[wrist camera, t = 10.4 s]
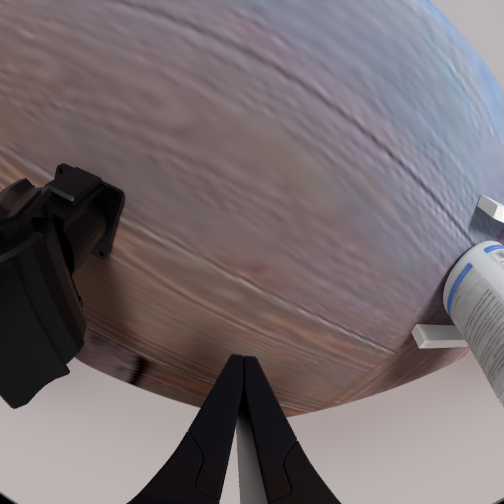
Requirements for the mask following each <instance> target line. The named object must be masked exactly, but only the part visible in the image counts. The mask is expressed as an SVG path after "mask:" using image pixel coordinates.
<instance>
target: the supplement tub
mask: <svg viewBox="0 0 504 504" xmlns="http://www.w3.org/2000/svg"><path fill="white" fill-rule="evenodd" d="M443 303H444V307H445V309H446V311H447V313H448V314H449V316H450V318H451V319H452V321H453V322H454V324H455V325H456V327H457V328H458V330H459V331H460V333H461V335H462V336H463V338H464V339H465V341H466V343H467V344H468V346H469V347H470V349H471V351H472V353H473V354H474V356H475V358H476V359H477V361H478V363H479V365H480V366H481V368H482V370H483V372H484V373H485V375H486V377H487V379H488V381H489V383H490V385H491V386H492V388H493V390H494V392H495V394H496V396H497V398H498V399H499V401H500V403H502V404H503V406H504V247H503V246H502V245H501V244H500V243H498V242H496V241H484V242H481V243H479V244H477V245H475V246H474V247H472V248H471V249H469V250H468V251H467V252H466V253H465V254H464V255H463V256H462V257H461V258H460V260H459V261H458V262H457V264H456V265H455V266H454V268H453V269H452V271H451V273H450V274H449V276H448V279H447V281H446V284H445V287H444V292H443Z"/></svg>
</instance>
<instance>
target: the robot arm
mask: <svg viewBox="0 0 504 504" xmlns="http://www.w3.org/2000/svg"><path fill="white" fill-rule="evenodd" d="M61 168H62V169H63V172H62V170H61ZM116 194H118V195H119V198H117V197H116ZM123 200H124V193H123V191H122V190H121V189H118V188H116V187H114V186H112V185H110V184H108V183H106V182H103V181H102V179H101V178H99V177H97V176H95V175H93V174H91V173H89V172H86V171H84V170H82V169H80V168H78V167H76V168H73V167H71V166H69V165H67V164H64V163H62V164H60V165H58V166H57V168H56V173H55V179H54V180H53V181H51V182H49V183H48V184H46V185H45V186H44V187H41V188H35V186H34V185H32V184H31V183H30V182H29V181H28V180H27V178H25V179H20V180H18V181H16V182H15V183H13V184H11V185H10V186H8V187H6V188H5V189H4V190H2V191H1V192H0V396H1V397H2V398H3V400H5V402H6V403H7V404H8V405H9V406H10V407H11V408H13V409H15V408H18V407H21V406H23V405H26V404H27V403H29V401H30V400H31V399H32V398H33V397H34V396H35V395H36V394H37V393H38V392H39V391H40V390H41V389H42V388H43V387H44V386H45V385H47V384H48V383H50V382H51V381H53V380H55V379H57V378H60V377H62V376H65V375H68V374H69V373H70V370H69V369H68V367H67V365H66V364H67V363H68V362H70V361H71V360H72V359H73V358H74V357H75V356H76V355H77V354H78V353H79V351H80V350H81V348H82V347H83V345H84V340H83V337H84V334H85V330H86V319H85V314H84V312H83V310H82V307H83V301H82V299H81V297H80V296H79V295H78V292H77V289H76V287H75V284H74V281H73V278H72V275H73V274H74V273H75V271H76V270H77V269H78V268H79V266H80V265H81V264H82V263H83V262H84V260H85V259H86V258H87V257H88V255H89V254H90V253H92V254H94V255H96V256H98V257H100V258H102V259H104V258H106V257H107V255H108V254H109V250H110V246H111V242H112V238H113V234H114V230H115V227H116V223H117V220H118V216H119V213H120V209H121V206H122V203H123ZM101 251H102V252H104V254H103V253H102V252H101ZM235 427H236V431H237V432H236V434H237V450H238V451H237V453H238V470H239V487H240V503H241V504H341V503H340V501H339V500H338V499H337V498H336V497H335V496H334V494H333V493H332V492H331V490H330V489H329V488H328V487H327V485H326V484H325V482H324V481H323V480H322V478H321V477H320V476H319V475H318V473H317V472H316V470H315V469H314V467H313V466H312V464H311V463H310V461H309V460H308V458H307V456H306V454H305V453H304V451H303V449H302V447H301V445H300V444H299V442H298V441H296V440H297V438H296V436H295V434H294V432H293V430H292V428H291V426H290V424H289V422H288V420H287V418H286V417H285V415H284V413H283V411H282V409H281V407H280V405H279V403H278V401H277V399H276V397H275V395H274V393H273V390H272V388H271V386H270V384H269V382H268V380H267V378H266V376H265V374H264V372H263V370H262V368H261V366H260V364H259V362H258V359H257V358H256V357H254V356H244V357H243V355H238V354H231V355H230V357H229V359H228V361H227V362H226V364H225V366H224V368H223V370H222V371H221V373H220V375H219V377H218V379H217V380H216V382H215V384H214V386H213V388H212V389H211V391H210V393H209V395H208V396H207V398H206V400H205V402H204V403H203V405H202V407H201V409H200V410H199V412H198V414H197V416H196V417H195V419H194V421H193V423H192V424H191V426H190V428H189V429H188V432H186V434H185V436H184V437H183V439H182V441H181V442H180V444H179V445H178V447H177V449H176V450H175V452H174V453H173V454H172V455H171V457H170V458H169V459H168V461H167V462H166V463H165V464H164V466H163V467H162V468H161V469H160V470H159V471H158V473H157V474H156V475H155V476H154V477H153V478H152V479H151V481H150V482H149V483H148V484H147V485H146V486H145V487H144V488H143V489H142V490H141V491H140V492H139V493H138V494H137V496H135V497H134V498H133V499H132V500H131V501H129V502H128V503H127V504H219V502H220V501H219V500H220V497H221V493H222V488H223V484H224V480H225V475H226V470H227V466H228V461H229V456H230V451H231V447H232V442H233V437H234V432H235ZM0 504H18V503H16V502H15V501H13V500H12V499H10V498H9V497H7V496H6V495H4V494H3V493H1V492H0ZM493 504H504V498H502V499H500V500H498V501H497V502H495V503H493Z"/></svg>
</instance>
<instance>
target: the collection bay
mask: <svg viewBox="0 0 504 504" xmlns="http://www.w3.org/2000/svg"><path fill="white" fill-rule="evenodd" d="M477 206H478V207H479V208H480V209H482V210H483V211H484V212H486V213H487V214H488V215H490V216H491V217H492V218H494V219H496V220H498V221H501V222H503V223H504V206H503V205H501V204H499V203H498V202H496V201H494V200H492V199H490V198H488V197H486V196H484V195H482V194H481V197H480V199H479V202H478V205H477ZM411 333H412V335H413V337H414V339H415V341H416V343H417V345H418V347H419V348H450V347H469V346H468V344H467V343H466V341H465V339H464V338H463V336H462V335H461V333H460V331H459V330H458V328H457V327H456V326H454V325H426V324H416V325H415V327H414V328H413V330H412V331H411Z"/></svg>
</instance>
